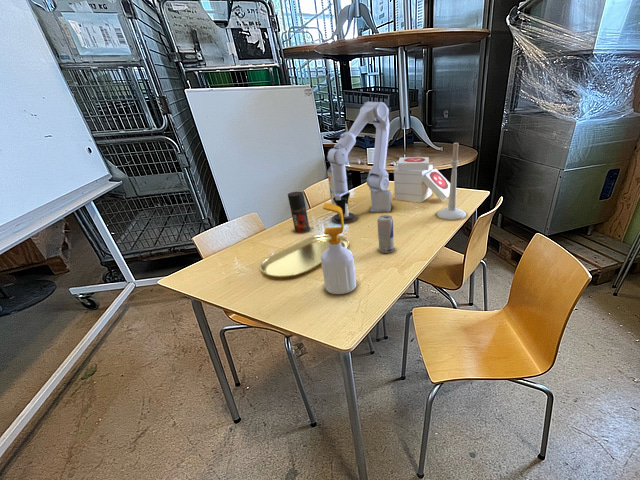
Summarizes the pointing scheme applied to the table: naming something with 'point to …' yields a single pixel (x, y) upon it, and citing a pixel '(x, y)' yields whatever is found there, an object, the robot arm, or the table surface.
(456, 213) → the candlestick
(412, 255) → the table surface
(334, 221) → the turntable base
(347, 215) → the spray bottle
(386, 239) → the energy drink
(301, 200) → the deodorant
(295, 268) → the serving platter
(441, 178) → the pizza boxes
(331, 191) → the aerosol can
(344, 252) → the soap bottle
